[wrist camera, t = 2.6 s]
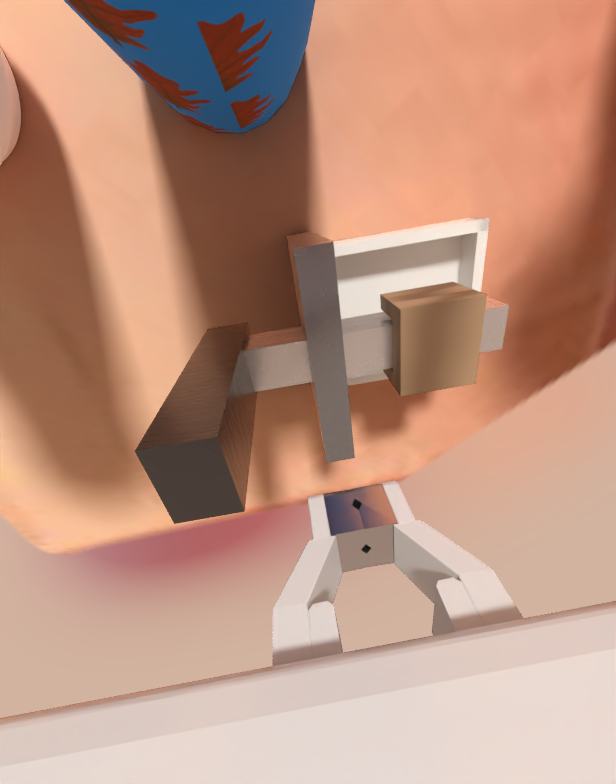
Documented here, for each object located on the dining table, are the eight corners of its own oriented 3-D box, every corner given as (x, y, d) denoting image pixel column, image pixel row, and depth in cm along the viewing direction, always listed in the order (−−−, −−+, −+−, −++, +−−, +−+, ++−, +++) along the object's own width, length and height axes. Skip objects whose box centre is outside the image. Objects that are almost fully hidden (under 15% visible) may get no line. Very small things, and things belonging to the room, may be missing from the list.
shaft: (471, 283, 24) (679, 356, 11) (466, 334, 26) (639, 442, 13) (207, 329, 24) (134, 450, 11) (222, 376, 26) (174, 523, 13)
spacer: (452, 281, 21) (487, 294, 18) (447, 359, 24) (475, 383, 21) (380, 294, 21) (400, 309, 18) (382, 370, 24) (400, 396, 21)
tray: (468, 218, 26) (489, 218, 23) (456, 352, 32) (472, 364, 29) (312, 244, 26) (316, 248, 23) (329, 374, 32) (333, 388, 29)
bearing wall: (310, 231, 25) (333, 241, 15) (330, 382, 32) (354, 457, 22) (286, 235, 25) (293, 248, 15) (311, 386, 32) (326, 462, 22)
